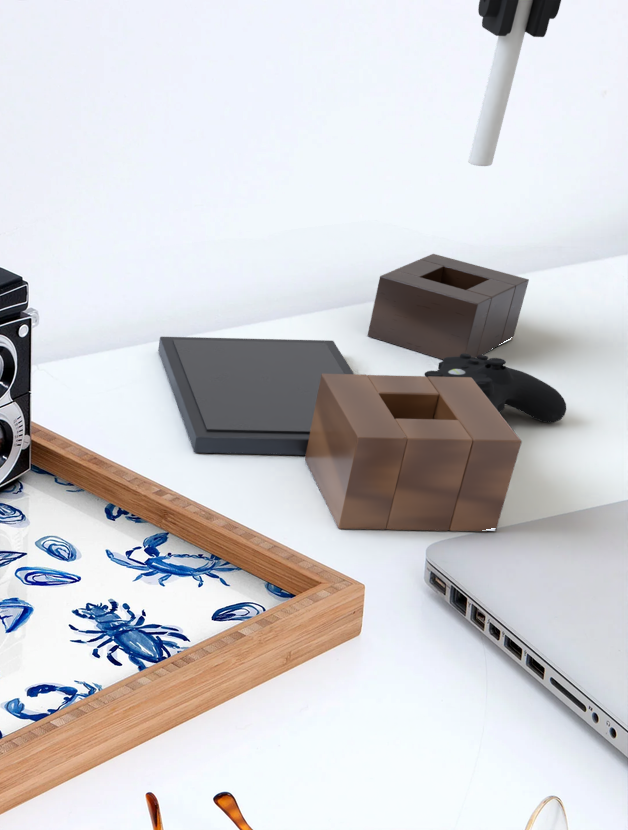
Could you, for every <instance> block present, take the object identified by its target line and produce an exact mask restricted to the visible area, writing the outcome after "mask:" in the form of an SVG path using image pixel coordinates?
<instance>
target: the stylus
mask: <svg viewBox="0 0 628 830" xmlns="http://www.w3.org/2000/svg"><path fill="white" fill-rule="evenodd" d="M532 3H533V0H519V1H518V5H517V9H516V13H515V17H514V22H513V26H512V30H511V32H510V33H509V34H507V35H506V36H497V39H496V40H497V41H496V44H495V49H494V52H493V57H492V61H491V65H490V68H489V69H490V70H489V74H488V77H487V82H486V86H485V90H484V93H483V97H482V98H483V99H482V102H481V107H480V111H479V115H478V119H477V124H476V128H475V132H474V136H473V139H472V144H471V149H470V153H469V156H468V161H467V162H468V163H469V164H470V165H473V166H476V167H477V166H478V167H489V166H492V164H493V161H494V158H495V154H496V149H497V146H498V142H499V138H500V134H501V130H502V127H503V126H502V125H503V122H504V118H505V114H506V110H507V106H508V102H509V98H510V94H511V90H512V86H513V82H514V78H515V75H516V70H517V65H518V62H519V58H520V55H521V50H522V46H523V43H524V39H525V34H526V32H525V31H526V27H527V23H528V19H529V15H530V11H531V7H532Z"/></svg>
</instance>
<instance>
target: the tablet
mask: <svg viewBox="0 0 628 830" xmlns="http://www.w3.org/2000/svg"><path fill="white" fill-rule="evenodd" d="M158 341H159V342H158V349H157V350H158V351H157V352H158V354H159V357H160V359H161V363H162V365H163V368H164V371H165V374H166V376H167V380H168V382H169V385H170V387H171V388H170V389H171V391H172V394H173V396H174V399H175V402H176V404H177V408H178V410H179V413H180V416H181V419H182V421H183V424H184V427H185V430H186V433H187V436H188V438H189V442H190V444H191V447H192V450H193V452H194V453H195V454H231V455H232V454H234V455H272V456H273V455H274V456H275V455H277V456H278V455H279V456H281V455H282V456H306V451H307V445H308V440H309V435H310V430H311V425H312V420H313V415H314V410H315V405H316V400H317V395H318V390H319V384H320V379H321V374H355V373H354V372H353V370H352V369H351V367H350V365H349V364H348V362H347V361H346V359H345V357H344V356H343V354H342V352H341V351H340V349H339V348H338V346H337V344H336V343H335V341H334V340H327V339H326V340H325V339H324V340H323V339H321V340H319V339H283V338H281V339H277V338H241V337H239V338H238V337H197V336H196V337H194V336H189V337H188V336H160V337H159V340H158Z"/></svg>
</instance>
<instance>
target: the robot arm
mask: <svg viewBox="0 0 628 830" xmlns="http://www.w3.org/2000/svg"><path fill="white" fill-rule="evenodd" d="M518 1H519V0H479V2H478V10H477V12H478V15H479V16H480V17H482V19H481V26H482V28H483V29H485V30H486V31H487V32H490V33H491V34H493V36H496V37H498V36H506V35H507V34H509V33H510V32H511V30H512V26H513V22H514V17H515V13H516V9H517V5H518ZM561 3H562V0H533V3H532V7H531V11H530V15H529V19H528V23H527V27H526V31H525V34H528V35H530V36H531V37H533V38H545V36H546V34H547V31H548V28H549V24H550V20H554V19H556V17H557V16H558V13H559V11H560V7H561Z"/></svg>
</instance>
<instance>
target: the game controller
mask: <svg viewBox="0 0 628 830" xmlns="http://www.w3.org/2000/svg"><path fill="white" fill-rule="evenodd" d="M505 364H506V360H505V359H504V358H500V357H491V358H489V356H488V355H485V354H483V355H477V358H473V357H471V355H469V354H465V353H462V354H460V356H459V357H446V358H444V359H442V360H441V361H440V362H438V367H437V370H427V371H425V372H424V376H426V377H429V376H432V377H471V378H472V379H473V380H474V381H475V383H476V384H477V385H478V386H479V388H480V389H481V390H482V391H483V393H484V394H485V395H486V397H487V398H488V399H489V400H490V402H491V403H492V404H493V405H494V407H495V408H496V409H497V410H498V412H499V413H501V412H502V411H504V410H505V407H506V406H508V407H511V408H513V409H516V410H518V411H520V412H521V413H524V414H525V415H526V416H529V417H531V418H532V419H534V420H537V421H540V422H543V423H547V424H549V423H556V422H559V421H561V420H562V419H563V418H564V417H565V415H566V412H567V403H566V400H565V398H564V397H563V396H562V394H560V392H559V391H558V390H557V389H555V388H554V387H553V386H552V385H549V384H548V383H547V382H545V381H543V380H541V379H539V378H538V377H535V376H534V375H531V374H529V373H526V372H524V371H523V370H522V371H521V370H518V369H515V368H511V367H508V366H506V365H505Z"/></svg>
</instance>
